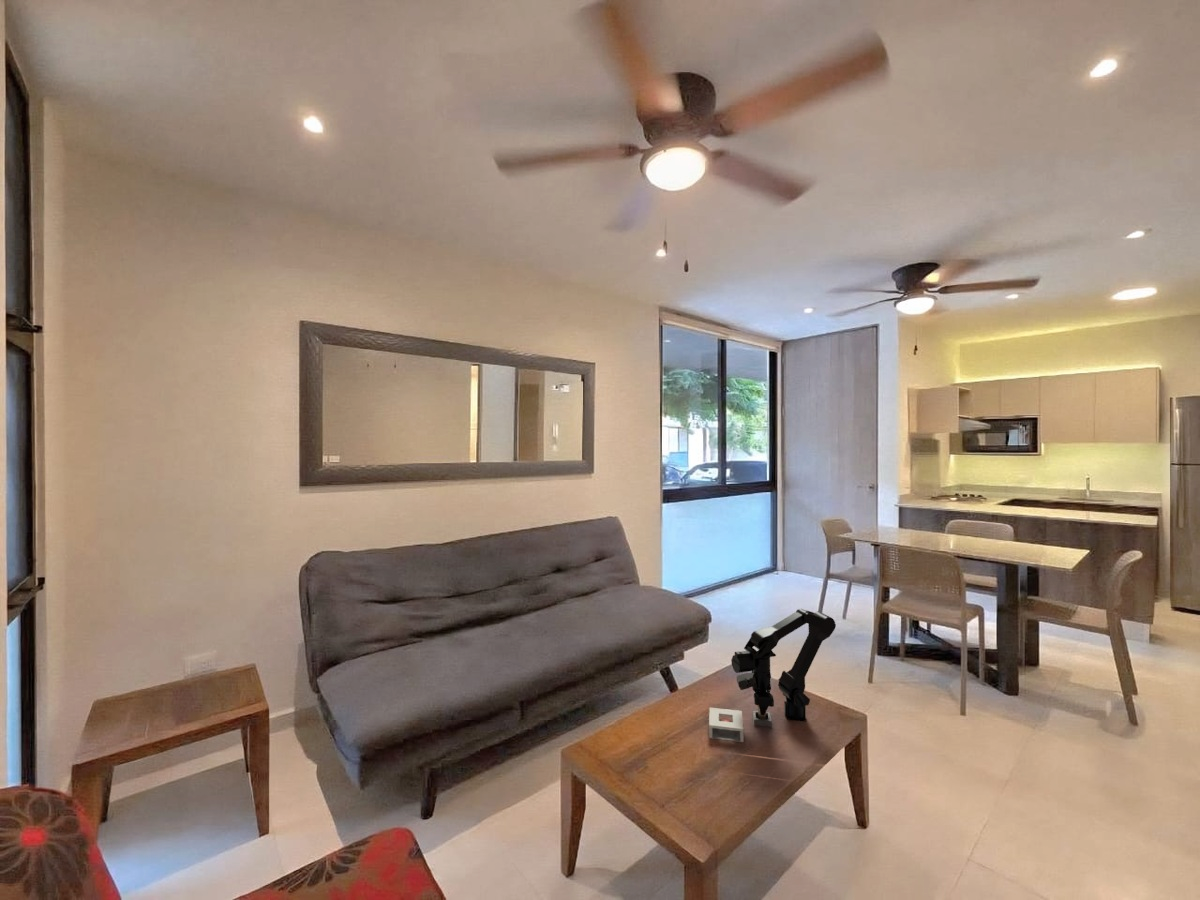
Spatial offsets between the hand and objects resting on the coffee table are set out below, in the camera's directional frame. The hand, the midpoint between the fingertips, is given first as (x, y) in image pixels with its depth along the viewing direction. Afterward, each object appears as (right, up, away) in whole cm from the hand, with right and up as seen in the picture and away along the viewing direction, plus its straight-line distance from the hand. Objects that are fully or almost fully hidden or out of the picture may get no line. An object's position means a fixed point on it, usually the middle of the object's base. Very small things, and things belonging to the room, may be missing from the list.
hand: (762, 712), depth 174 cm
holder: (0, -3, 0) cm, 3 cm away
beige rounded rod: (0, -3, 0) cm, 3 cm away
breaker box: (-14, -4, -5) cm, 15 cm away
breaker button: (-14, -2, -5) cm, 15 cm away
